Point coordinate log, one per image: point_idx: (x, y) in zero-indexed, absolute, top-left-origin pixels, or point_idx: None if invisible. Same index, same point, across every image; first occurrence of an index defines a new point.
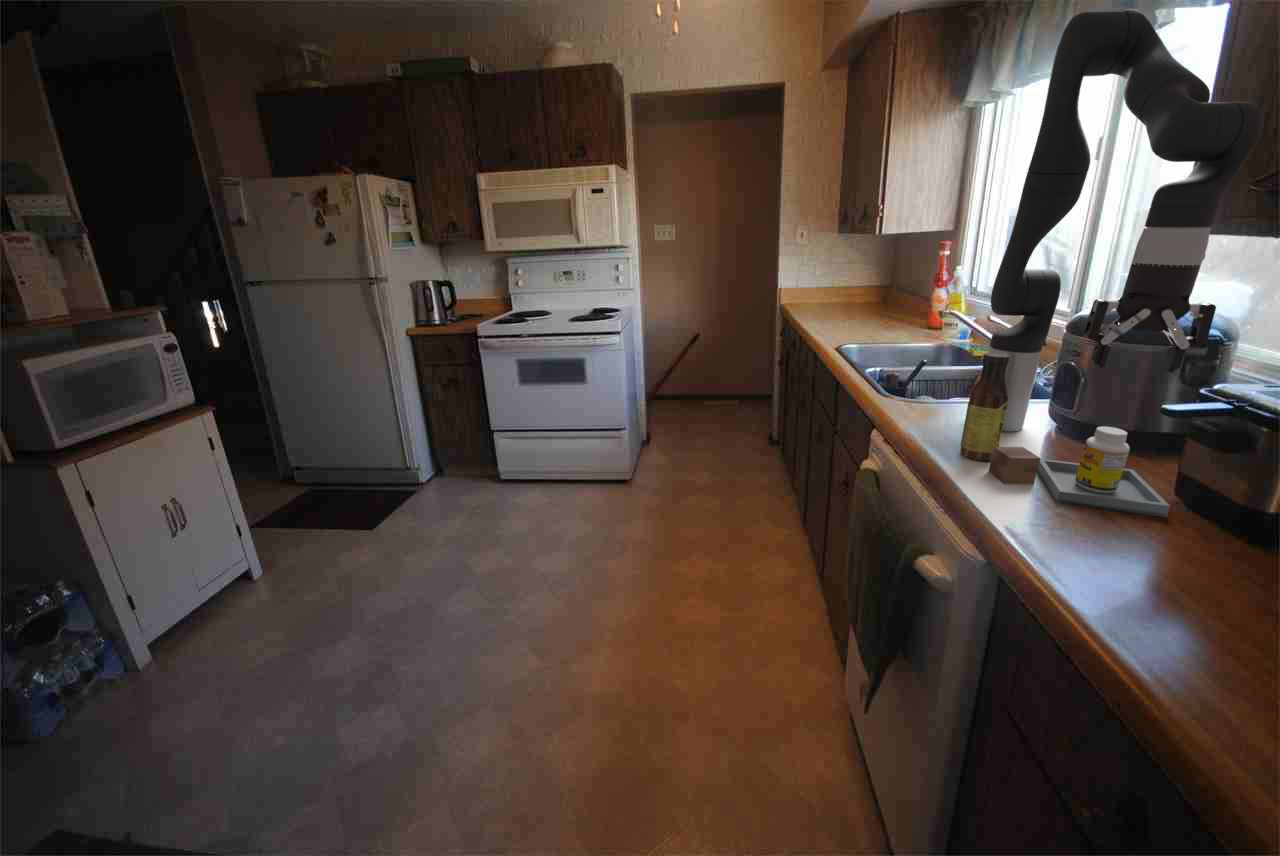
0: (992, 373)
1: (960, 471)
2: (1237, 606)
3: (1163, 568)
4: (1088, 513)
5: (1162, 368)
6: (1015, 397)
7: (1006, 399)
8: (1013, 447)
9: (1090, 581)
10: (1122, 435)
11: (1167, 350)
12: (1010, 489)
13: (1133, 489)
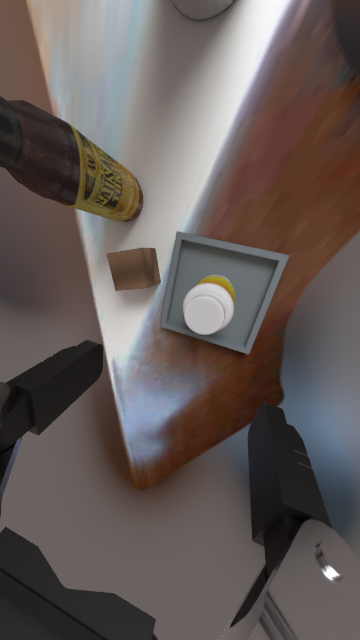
0: None
1: (100, 256)
2: (202, 439)
3: (188, 408)
4: (181, 340)
5: (263, 407)
6: None
7: (74, 185)
8: (128, 252)
9: (139, 414)
10: (207, 334)
11: (276, 476)
12: (134, 296)
13: (258, 295)
